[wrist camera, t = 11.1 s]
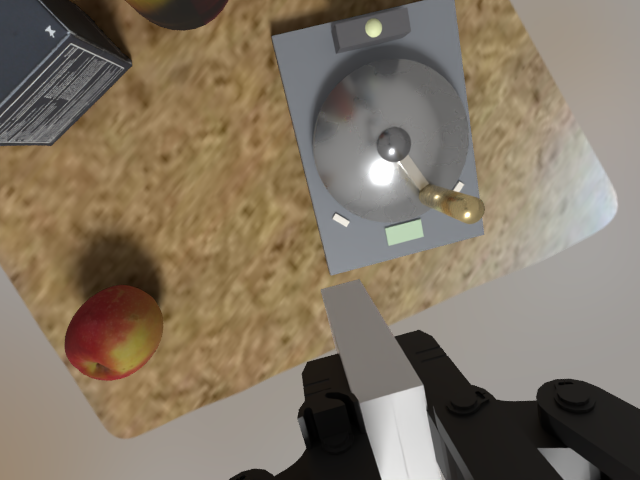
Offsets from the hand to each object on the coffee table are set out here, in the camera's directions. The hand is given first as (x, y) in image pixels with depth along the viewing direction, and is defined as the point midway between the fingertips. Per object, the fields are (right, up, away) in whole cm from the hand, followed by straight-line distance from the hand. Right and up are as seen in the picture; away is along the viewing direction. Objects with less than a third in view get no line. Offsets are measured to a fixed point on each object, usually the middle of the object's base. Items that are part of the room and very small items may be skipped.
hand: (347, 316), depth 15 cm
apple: (-20, -4, +24) cm, 32 cm away
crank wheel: (+5, +12, +21) cm, 24 cm away
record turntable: (+5, +12, +23) cm, 26 cm away
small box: (-23, +17, +19) cm, 34 cm away
